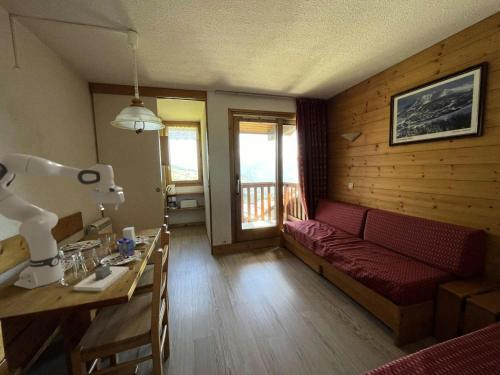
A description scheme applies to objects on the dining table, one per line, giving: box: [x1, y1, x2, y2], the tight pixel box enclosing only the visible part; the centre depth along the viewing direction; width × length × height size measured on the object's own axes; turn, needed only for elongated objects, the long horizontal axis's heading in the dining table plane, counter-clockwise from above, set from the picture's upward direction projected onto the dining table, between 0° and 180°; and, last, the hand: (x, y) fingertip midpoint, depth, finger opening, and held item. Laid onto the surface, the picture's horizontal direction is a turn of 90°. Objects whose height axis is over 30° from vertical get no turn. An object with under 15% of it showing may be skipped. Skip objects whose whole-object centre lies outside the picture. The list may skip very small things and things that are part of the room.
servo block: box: [94, 264, 112, 281], centre depth 123 cm, size 4×10×8 cm, turn 175°
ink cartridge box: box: [117, 236, 136, 258], centre depth 154 cm, size 10×6×14 cm, turn 67°
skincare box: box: [122, 226, 137, 248], centre depth 169 cm, size 8×7×16 cm
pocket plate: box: [73, 266, 130, 292], centre depth 123 cm, size 16×22×2 cm
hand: (109, 209), depth 137 cm, fingers open, 8 cm apart
